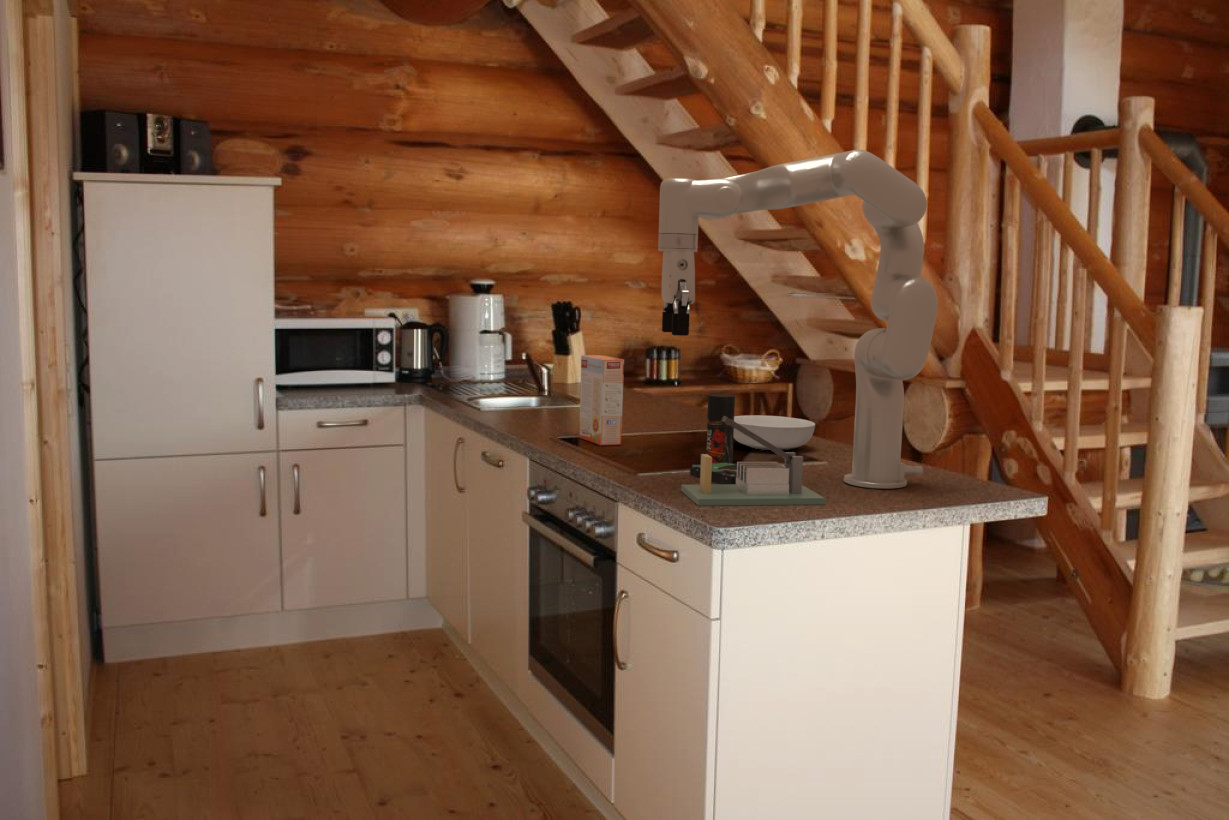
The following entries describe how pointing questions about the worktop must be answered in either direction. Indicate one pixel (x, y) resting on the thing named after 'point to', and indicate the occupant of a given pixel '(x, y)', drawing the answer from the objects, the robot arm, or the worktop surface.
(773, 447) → the strap
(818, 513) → the worktop surface
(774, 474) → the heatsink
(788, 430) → the serving bowl
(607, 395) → the cracker box
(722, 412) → the deodorant
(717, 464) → the disk drive
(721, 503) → the board
